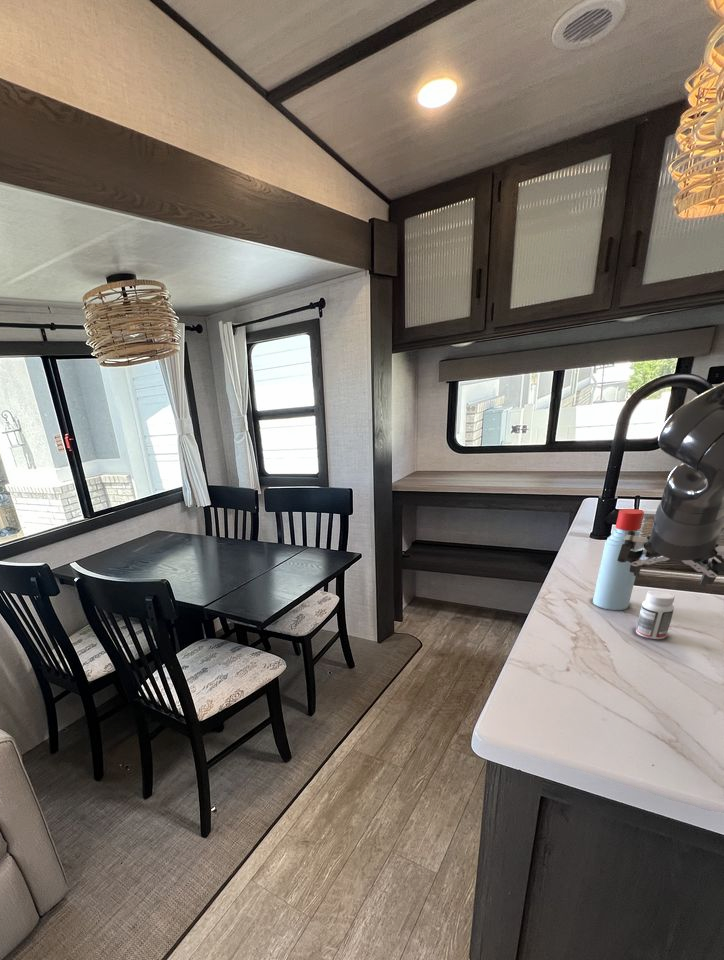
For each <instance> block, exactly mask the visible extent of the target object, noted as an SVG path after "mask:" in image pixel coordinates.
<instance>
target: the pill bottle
mask: <svg viewBox="0 0 724 960" xmlns="http://www.w3.org/2000/svg"><path fill="white" fill-rule="evenodd" d="M674 601H675V595H674V594H673V593H671V592H670V591H666V590H665V591H664V590H657V589H655V590H653V589H652V590H648V591H647V593H646V595H645V600H644V601H642V604H641V607H640V611H639V615H638V619H637V623H636V627H635V632H636V634H638V635H639V636H640V637H643V638H646V639H652V640H663V639H665V638H666V637H667V635H668V632H669V628H670V625H671V623H672V622H671V621H672V619H673V618H672V617H673V614H674V610H675V606H674Z"/></svg>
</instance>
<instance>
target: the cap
mask: <svg viewBox="0 0 724 960" xmlns="http://www.w3.org/2000/svg"><path fill="white" fill-rule="evenodd" d="M644 515H645V511H644V510H642V509H635V508H622V509H619V510H618V514H617V518H616V524H615V529H616V530H617V529H621V530H628V531H634V530H637V531H639V530H640V529H641V528H642V524H643V519H644Z"/></svg>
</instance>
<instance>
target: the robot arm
mask: <svg viewBox="0 0 724 960" xmlns="http://www.w3.org/2000/svg"><path fill="white" fill-rule="evenodd" d="M657 441H658V442H657V443H658V446H659V448H660V450H661V451H662V452H663V453H664V454H666V455H667V456H669V457H670V458H672V459H674V460H676V461H678V462H679V464H678V465H676V466H675V467H674V468H673V470H671V472H670V473H669V475H668V477H667V479H666V482H665V486H664V489H663V492H662V497H661V500H660V502H659V504H658V506H657V508H656V511H655V515H654V517H653V519H652V522H653V523H652V527H651V530H650V533H649V535H647V536H645V537H643V536H641V537H637V536H635V532H633V531H627V532H626V534H625V538H624V541H623V544H622V547H621V550H620V553H619V556H618V560H617V561H619V562H626V561H628V562H630V564H631V566H630V570H629V571H630V572H632V573H634V575H633V576H636V577H640V573H641V570H642V566H643V565H646V566H647V565H648V566H649V565H654V564H656V563H660V562H662V563H670V564H672V563H674V564H678V565H683V566H689V567H691V568H692V569H693V570H695V571H696V572H698V573H702V574H701V579H700V582H699V587H704V588H705V587H707V585H712V584H714V582H715V580H716V578H718V576H724V562H722V561H721V560H720V559H718V558H717V556H720V557H721V559H722V560H724V546H721V545H719V543H718V542H719V540H720V538H721V536H722V534H723V532H724V382H722V383H720V384H717V385H715V386H713V387H712V388H709V389H707V390H705V391H704V392H702V393H700V394H698V395H696V396H695V397H693V398H691V399H689V400H688V401H687V402H685V403H684V404H682V405H681V406H680V407H678V408H677V409H676V410H675V411H674V412H673V413H672V414H671V415H670V416H669V417H668V418H667V420H666V421H665V422H664V424H663V425H662V427H661V429H660V431H659V434H658V438H657ZM638 546H643V548H640V549H637V550H635V551H633V550H634V548H637V547H638Z"/></svg>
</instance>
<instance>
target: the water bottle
mask: <svg viewBox="0 0 724 960" xmlns="http://www.w3.org/2000/svg"><path fill="white" fill-rule="evenodd" d="M627 531H628V530H621V529H617V528H616V529H615V530H614V531H613V532H612V533H611V534H610V535H609V536H608V537H607V539H606V540H605V542H604V547H603V552H602V557H601V560H600V561H601V562H600V565H599V569H598V575H597V580H596V584H595V589H594V593H593V599H592V603H593V604H594V606H597V607H599V608H601V609H606V610H610V611H611V610H612V611H624V610H627V609H628V608H629V605H630V601H631V598H632V593H633V589H634V585H635V581H636V577H637V576H633V575H634V573H632V572H630V571H629V570H630V566H631V564H630V562H628V561H626V562H619V561H617V560H618V556H619V553H620V550H621V547H622V544H623V541H624V538H625V534H626V532H627ZM633 532H635V536H637V537H642V536H641V535H640V532H639V531H638V530H634V531H633ZM643 547H644V546H638V547H637V548H634V550H633V551H635V550H637V549H640V548H643Z"/></svg>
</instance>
